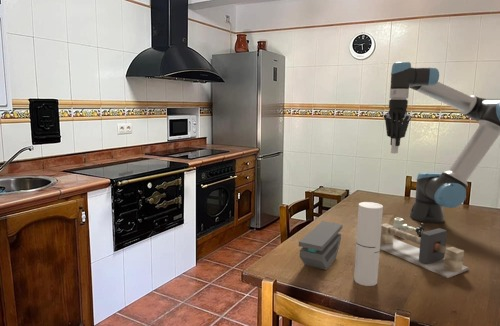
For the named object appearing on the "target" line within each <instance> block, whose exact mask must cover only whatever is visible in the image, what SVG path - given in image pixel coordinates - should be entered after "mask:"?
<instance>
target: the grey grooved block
mask: <svg viewBox="0 0 500 326" xmlns="http://www.w3.org/2000/svg"><path fill="white" fill-rule="evenodd" d="M342 229H343V223H335V222H332V221H331V222H330V221H325V220H322V221H320V222H319V223H318V224H317V225H316V226H315V227H314V228H312V229H311V230H310V231H309V232H308V233H307V234H306V235H305V236H304V237H302V239H300V240H299V241H298V247H300V248H301V247H302V248H301V249H300V250H299V258H300V260H301V261H302V263H303V264H304V266H307V267H312V268H315V269H320V270H324V271H327V270H328V269H329V268H330V267H331V266H332V264H333V263H334V262H335V260H336V259H337V255H338V253H339V249H340V244H341V240H342V233H339V232H341V230H342Z"/></svg>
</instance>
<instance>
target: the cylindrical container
mask: <svg viewBox="0 0 500 326" xmlns="http://www.w3.org/2000/svg"><path fill="white" fill-rule="evenodd" d="M383 209H384V206H383V205H382V204H381V203H378V202H372V201H362V202H359V203H358V210H357V211H358V212H357V225H356V242H355V243H356V244H355V258H354V270H353V271H354V272H353V280H354V282H355V283H357V284H359V285H361V286H366V287H373V286H376V285H377V284H378V279H379V278H378V276H379V264H380V263H379V261H380V251H381V249H380V239H381V226H382V224H383V223H382V222H383V212H384V210H383Z"/></svg>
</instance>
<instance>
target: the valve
mask: <svg viewBox="0 0 500 326" xmlns="http://www.w3.org/2000/svg"><path fill="white" fill-rule="evenodd" d="M393 219H394V220H393V224H392V226H394V228H395V229H398V230H401V231H404V232H408V231H411V232H414V231H415V233H416V236H418V237H420V238H421V233H423V232H425V223H424V222H422V223H420V226H418V227H416V228H415V227H414V226H409V225H408V224H407V223H404V219H403V218H401V217H395V218H393Z"/></svg>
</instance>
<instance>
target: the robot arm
mask: <svg viewBox="0 0 500 326" xmlns="http://www.w3.org/2000/svg"><path fill="white" fill-rule="evenodd" d="M439 79H440V71H439V69H438V68H436V67H431V66H430V67H412V63H411V62H410V61H397V62H396V61H395V62H394V63H393V64H392V66H391V72H390V86H389V87H390V88H389V100H388V113H386V114H384V115H383V118H384V122H385V130H386V136H387V137H389V138H390V146H391V149H390V154H398V153H399V147H400V145H401V139H402V138H405V137H406V135H407V130H408V127H409V124H410V121H411V119H412V118H413V117H412V115H409V114H408V110H407V108H408V105H409V100H408V99H409V90H410V89H411V90H414V91H417V92H418V93H421V94H423V95H424V96H428V97H429V98H432V99H433V100H435V101H438V102H441V103H443V104H445V105H447V106H449V107H452V108H453V109H456V110H458V111H460V114H462V115H463V116H466V117H468V118H470V119H472V120H474V121H476V122H478V125H479V126H478V128H477V129H476V131H475V132H474V133H473V135H472V136H471V138H470V139H469V140H468V142H467V143H466V144H465V146H464V147H463V149H462V150H461V152H460V153H459V154H458V156H457V157H456V159H455V160H454V162H453V163H452V164H451V166H449V167H450V168H449V169H447V170H445V171H443V172H442V173H441V172H420V173H418V174H417V178H416V187H415V189H416V190H415V199H414V203H413V205H412V207H411V209H410V214H409V218H411V219H412V220H415V221H419V222H422V223H428V224H438V223H439V224H440V223H443V222H444V220H445V215H444V211H443V207H444V208H447V209H454V208H457V207H459V206H461V205H462V204H463V203H464V202H465V200H466V198H467V191H466V189H467V188H468V186H469V185H468V180H469V178H471V176H472V174H473V173H474V171H475V170H476V169H477V167H478V166H479V164H480V163H481V162H482V161H483V159H484V157H485V156H486V155H487V153H488V152H489V150H490V149H491V147H493V145H494V143H495V142H496V140H497V139H498V138H499V136H500V98H485V97H484V98H482V97H478V96H476V95H474V94H472V95H468V94H466V93H464V92H462V91H459V90H457V89H455V88H453V87H451V86H448V85H446V84H444V83H442V82H440V81H439Z"/></svg>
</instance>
